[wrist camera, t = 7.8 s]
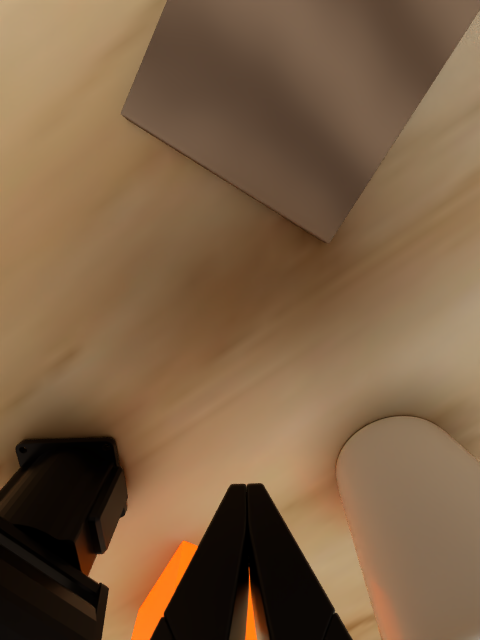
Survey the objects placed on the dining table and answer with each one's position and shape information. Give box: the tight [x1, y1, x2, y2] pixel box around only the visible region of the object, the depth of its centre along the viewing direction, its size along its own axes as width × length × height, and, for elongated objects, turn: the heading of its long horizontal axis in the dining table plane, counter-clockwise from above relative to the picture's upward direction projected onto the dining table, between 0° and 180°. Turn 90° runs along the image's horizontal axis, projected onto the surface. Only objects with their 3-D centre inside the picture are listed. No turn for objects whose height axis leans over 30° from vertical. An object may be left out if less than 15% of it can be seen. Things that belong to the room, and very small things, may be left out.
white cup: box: [336, 416, 480, 640], centre depth 17 cm, size 10×10×12 cm
